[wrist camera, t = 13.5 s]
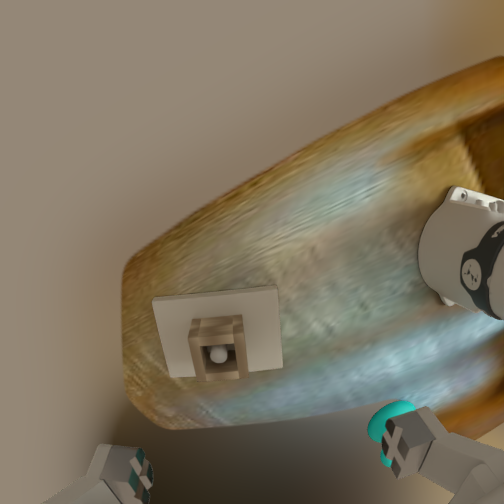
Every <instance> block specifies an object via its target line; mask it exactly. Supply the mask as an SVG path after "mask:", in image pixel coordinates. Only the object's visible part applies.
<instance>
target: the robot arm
mask: <svg viewBox="0 0 504 504" xmlns="http://www.w3.org/2000/svg"><path fill="white" fill-rule="evenodd" d="M461 194H462V197H461ZM418 261H419V268H420V272H421V275H422V277H423V279H424V281H425V282H426V284H427V285H428V286H429V287H430V288H432V289H433V290H435V291H436V292H437V293H438V294H439V295H440V298H441V300H442V302H443V303H444V304H445V305H448V306H452V305H454V304H458V305H460V306H462V307H464V308H466V309H468V310H470V311H472V312H474V313H478V312H479V311H483V312H484V313H485V314H487V315H488V316H490V317H493V318H495V319H498V320H504V200H501V199H498V198H495V197H492V196H489V195H486V194H482V193H479V192H476V191H473V190H469V189H466V188H462V187H459V186H452V187H451V188H450V190H449V192H448V194H447V196H446V198H445V201H444V202H443V204H442V205H441V206H440V207H439V208H438V209H437V210H436V211H435V212H434V213H433V214H432V215H431V217H430V218H429V220H428V221H427V223H426V225H425V227H424V230H423V232H422V235H421V239H420V243H419V250H418ZM385 427H386V429H387V430H386V432H385V433H384V434H383V435H382V440H381V442H382V450H383V453H384V455H385V457H386V458H387V459H389V460H392V463H391V466H390V467H391V469H392V471H393V473H394V475H395V476H396V479H400V478H403V477H406V476H409V475H412V474H415V473H417V472H419V474H421V475H422V476H424V477H426V478H427V479H429V480H431V481H433V482H434V483H436V484H438V485H440V486H441V487H443V488H445V489H447V490H448V491H450V492H452V493H454V494H455V495H454V497H453V498H452V499H451V501H450V502H449V503H448V504H504V451H503V450H501V449H498V448H495V447H492V446H489V445H486V444H483V443H480V442H477V441H474V440H472V439H469V438H466V437H463V436H461V435H458V434H455V433H448V432H447V431H446V429H445V428H444V427H443V425H442V424H441V423H440V421H439V420H438V419H437V418H436V416H435V415H434V414H433V412H432V411H431V410H430V409H429V407H427V406H425V407H422V408H419V409H416V410H414V411H410V412H407V413H404V414H401V415H398V416H395V417H391V418H388V419H387V421H386V424H385ZM144 457H145V453H144V451H143V449H142V448H134V447H125V446H116V445H107V444H100V445H99V446H98V447H97V449H96V452H95V454H94V457H93V459H92V462H91V464H90V467H89V469H88V472H87V474H86V477H83V476H82V477H80V478H79V479H77V480H76V481H75V482H73V483H72V484H70V485H69V486H67V487H66V488H65V489H63V490H61V491H60V492H58V493H57V494H55V495H54V496H52V497H51V498H49V499H48V500H46V501H45V502H43V503H42V504H149V499H150V494H149V493H148V491H147V489H149V487H151V486H152V483H153V470H152V466H151V464H150V462H149V461H147V460H146V459H144Z"/></svg>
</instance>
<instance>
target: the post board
mask: <svg viewBox="0 0 504 504" xmlns="http://www.w3.org/2000/svg"><path fill="white" fill-rule="evenodd" d="M152 306H153V310H154V314H155V319H156V323H157V327H158V332H159V336H160V340H161V344H162V348H163V352H164V355H165V359H166V363H167V367H168V370H169V374H170V377H192V376H196V374H195V370H194V366H193V361H192V357H191V352H190V348H189V343H188V334H189V330H190V326H191V322H192V319H198V318H210V317H220V316H230V315H240V314H242V318H243V326H244V335H245V343H246V351H247V360H248V370H249V372H252V371H261V370H269V369H277V368H283V361H282V344H281V328H280V313H279V298H278V288H277V286H276V285H271V286H262V287H253V288H244V289H235V290H225V291H216V292H205V293H195V294H184V295H173V296H162V297H154V298H153V300H152ZM229 350H235V346H234V343H232V344H221V345H210V346H207V352H211V354H210V357H211V360H212V361H214V362H215V363H223V362H225V361H226V359H227V351H229Z"/></svg>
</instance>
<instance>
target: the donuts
mask: <svg viewBox="0 0 504 504" xmlns="http://www.w3.org/2000/svg"><path fill="white" fill-rule="evenodd" d="M414 410H416V408H415V407H414V405H413V404H412V403H410V402H408V401H396V402H393V403H390V404H388V405H386V406H384V407H383V408H381V409H380V410H379V411H378V412H377V413H375V415H374V416H373V417H372V419H371V420H370V422H369V424H368V435H369V437H370V438H371V439H372V440H374V441H376V442H380V443H382V442H381V440H382V435H383V434H384V433H385V432H386V430H387V429H386V427H385V424H386V421H387V419H388V418H391V417H395V416H398V415H401V414H404V413H407V412H410V411H414ZM380 457H381V461H382V463H383V464H384V465H385V466H387V467H390V466H391V463H392V460H389V459H387V458H386V457H385V455H384V453H383V450H382V451H381V456H380Z"/></svg>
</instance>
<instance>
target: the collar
mask: <svg viewBox="0 0 504 504" xmlns="http://www.w3.org/2000/svg"><path fill="white" fill-rule="evenodd" d="M188 343H189V348H190V352H191V357H192V361H193V366H194V370H195V374H196V379H197V382H205V381H219V380H231V379H242V378H249V370H248V360H247V351H246V343H245V335H244V326H243V318H242V314H240V315H230V316H220V317H210V318H198V319H192V322H191V326H190V330H189V334H188ZM232 343H234V346H235V350H229V351H227V359H226V361H225V362H223V363H215V362H214V361H212V360H211V357H210V354H211V352H207V346H210V345H221V344H232Z"/></svg>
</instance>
